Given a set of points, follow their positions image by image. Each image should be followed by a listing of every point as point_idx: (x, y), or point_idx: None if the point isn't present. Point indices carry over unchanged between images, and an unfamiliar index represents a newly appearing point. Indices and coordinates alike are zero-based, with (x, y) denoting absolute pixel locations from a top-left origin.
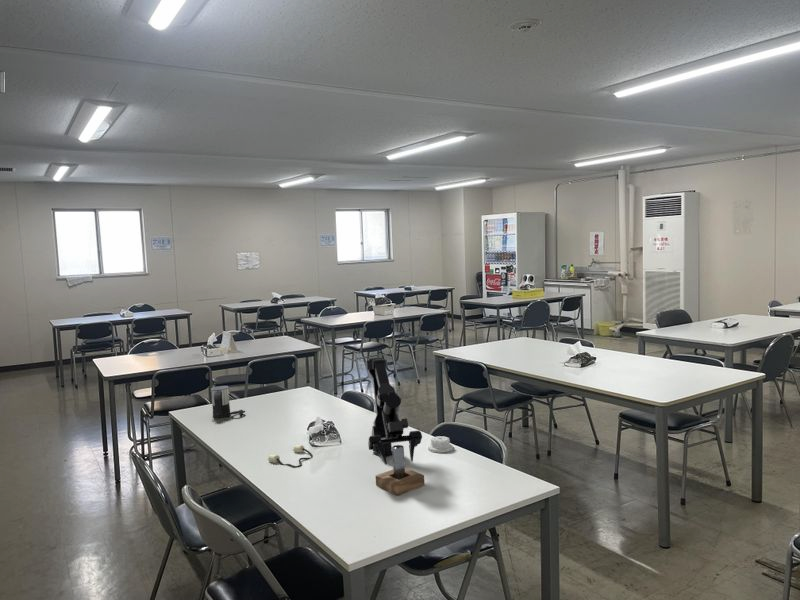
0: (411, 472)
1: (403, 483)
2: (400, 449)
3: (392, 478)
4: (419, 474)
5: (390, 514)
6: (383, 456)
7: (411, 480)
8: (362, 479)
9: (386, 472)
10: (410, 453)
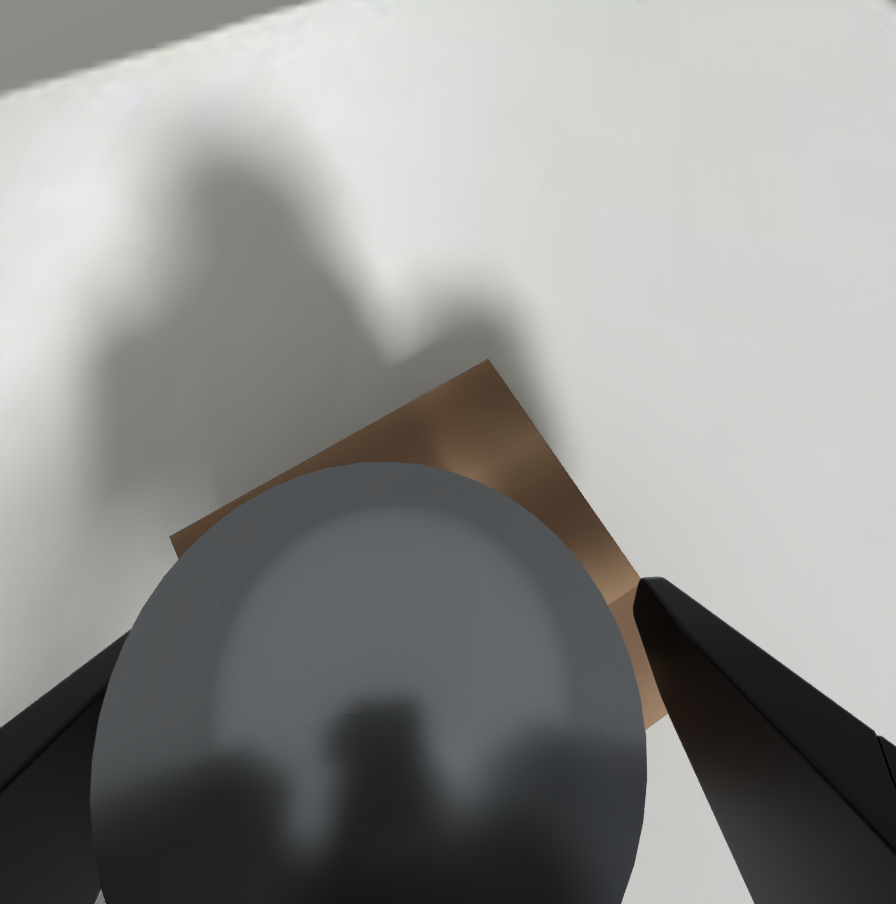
0: None
1: (421, 399)
2: (312, 484)
3: None
4: None
5: (553, 162)
6: (780, 677)
7: (332, 449)
8: None
9: None
10: (80, 814)
